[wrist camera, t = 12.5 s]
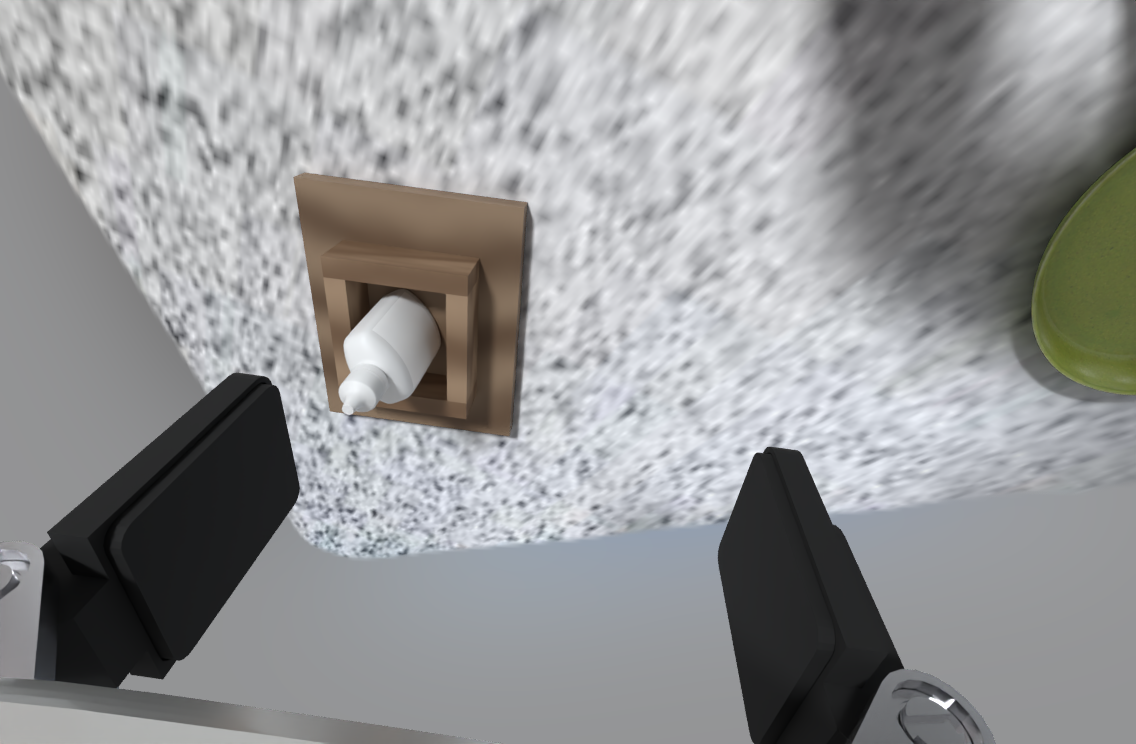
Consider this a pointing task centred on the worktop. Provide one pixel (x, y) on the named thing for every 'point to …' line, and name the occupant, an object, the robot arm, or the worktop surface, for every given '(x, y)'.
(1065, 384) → the worktop surface
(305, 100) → the worktop surface
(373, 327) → the eye dropper bottle
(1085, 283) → the saucer
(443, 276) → the bottle stand
